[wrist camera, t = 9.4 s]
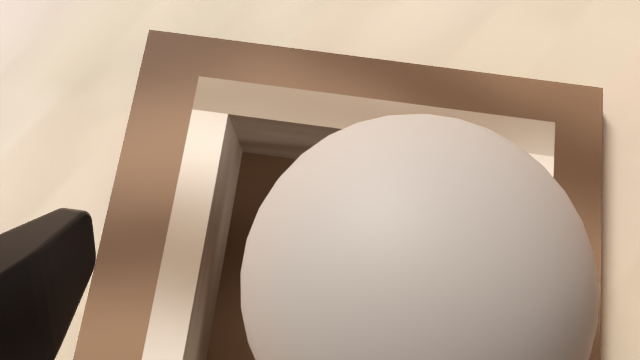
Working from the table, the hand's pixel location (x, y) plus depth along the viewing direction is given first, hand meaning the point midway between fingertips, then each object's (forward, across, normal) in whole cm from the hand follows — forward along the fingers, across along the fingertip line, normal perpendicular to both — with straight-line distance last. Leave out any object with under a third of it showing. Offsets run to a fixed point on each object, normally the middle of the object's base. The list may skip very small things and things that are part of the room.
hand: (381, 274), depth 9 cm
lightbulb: (+7, -1, +7) cm, 10 cm away
